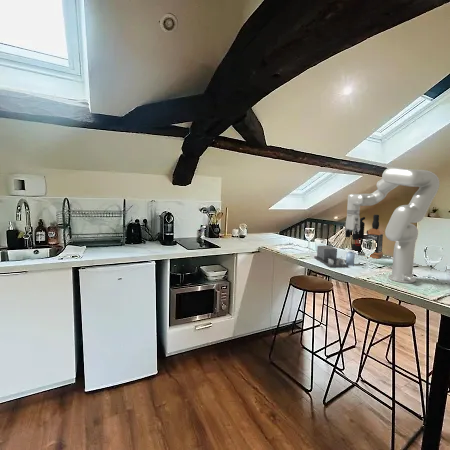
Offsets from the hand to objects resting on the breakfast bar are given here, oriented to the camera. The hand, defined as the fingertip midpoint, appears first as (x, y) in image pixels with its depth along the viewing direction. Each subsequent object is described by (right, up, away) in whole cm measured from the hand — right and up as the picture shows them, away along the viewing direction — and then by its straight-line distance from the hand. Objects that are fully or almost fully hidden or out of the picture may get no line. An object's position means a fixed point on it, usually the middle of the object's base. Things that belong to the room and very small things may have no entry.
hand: (351, 238), depth 183 cm
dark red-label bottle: (+20, -14, +35) cm, 43 cm away
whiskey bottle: (+28, -15, +26) cm, 41 cm away
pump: (0, -18, +2) cm, 18 cm away
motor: (-12, -17, +9) cm, 22 cm away
